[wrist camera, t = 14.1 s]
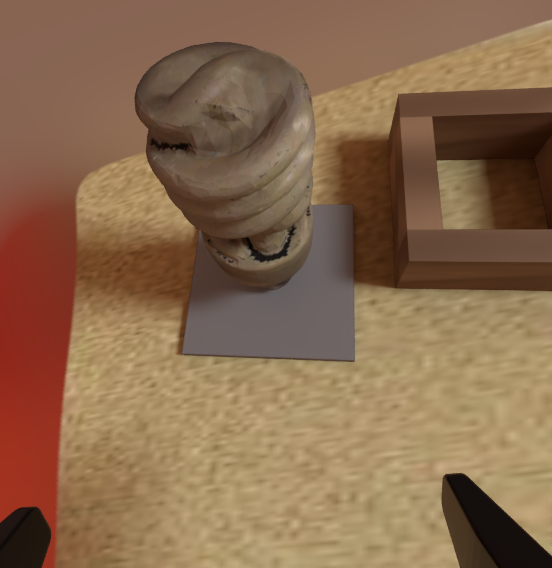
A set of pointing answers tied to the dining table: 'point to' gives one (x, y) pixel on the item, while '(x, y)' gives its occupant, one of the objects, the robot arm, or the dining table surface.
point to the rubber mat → (280, 302)
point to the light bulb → (235, 154)
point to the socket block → (426, 197)
